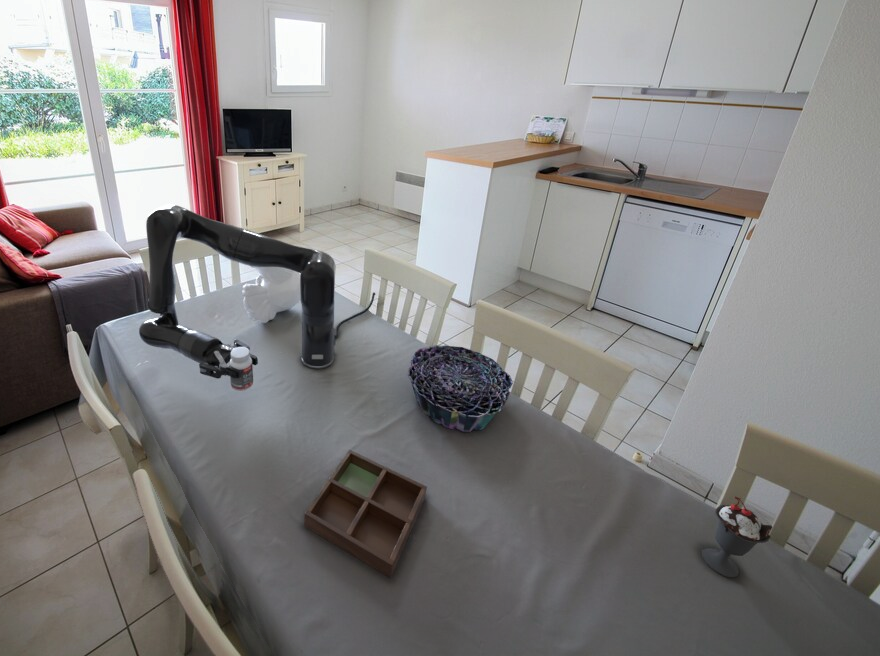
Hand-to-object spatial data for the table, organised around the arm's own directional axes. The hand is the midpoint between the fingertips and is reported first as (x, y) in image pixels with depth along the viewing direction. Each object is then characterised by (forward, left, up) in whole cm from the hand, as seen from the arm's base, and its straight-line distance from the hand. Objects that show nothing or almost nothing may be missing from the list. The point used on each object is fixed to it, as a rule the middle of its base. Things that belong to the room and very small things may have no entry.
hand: (248, 368), depth 107 cm
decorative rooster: (-39, -24, -10) cm, 47 cm away
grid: (+12, +39, -10) cm, 42 cm away
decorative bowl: (-28, +45, -10) cm, 54 cm away
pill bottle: (0, -2, -6) cm, 7 cm away
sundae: (-12, +96, -10) cm, 98 cm away
